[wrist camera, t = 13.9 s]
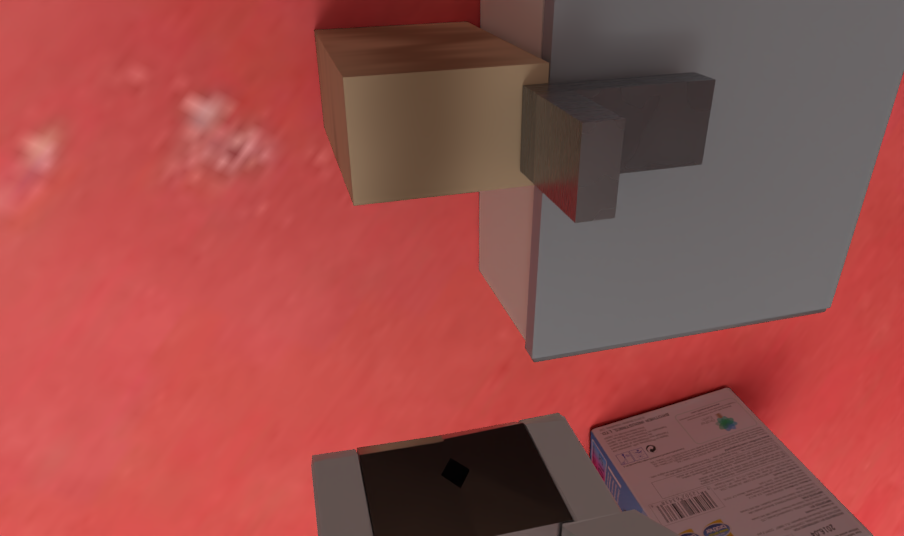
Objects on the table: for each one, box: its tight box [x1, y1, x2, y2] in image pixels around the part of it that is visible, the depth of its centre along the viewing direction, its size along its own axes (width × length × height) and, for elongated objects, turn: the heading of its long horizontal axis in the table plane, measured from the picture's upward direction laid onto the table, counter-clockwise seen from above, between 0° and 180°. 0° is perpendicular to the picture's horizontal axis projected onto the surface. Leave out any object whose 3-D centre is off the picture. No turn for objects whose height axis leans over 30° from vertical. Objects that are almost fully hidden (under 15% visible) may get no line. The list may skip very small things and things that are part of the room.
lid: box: [525, 0, 904, 362], centre depth 27 cm, size 14×15×1 cm
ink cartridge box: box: [590, 388, 873, 536], centre depth 38 cm, size 10×6×14 cm, turn 98°
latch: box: [520, 72, 716, 223], centre depth 21 cm, size 6×3×4 cm, turn 91°
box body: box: [479, 0, 545, 341], centre depth 30 cm, size 14×14×7 cm
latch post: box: [314, 22, 549, 206], centre depth 26 cm, size 6×4×9 cm, turn 91°
